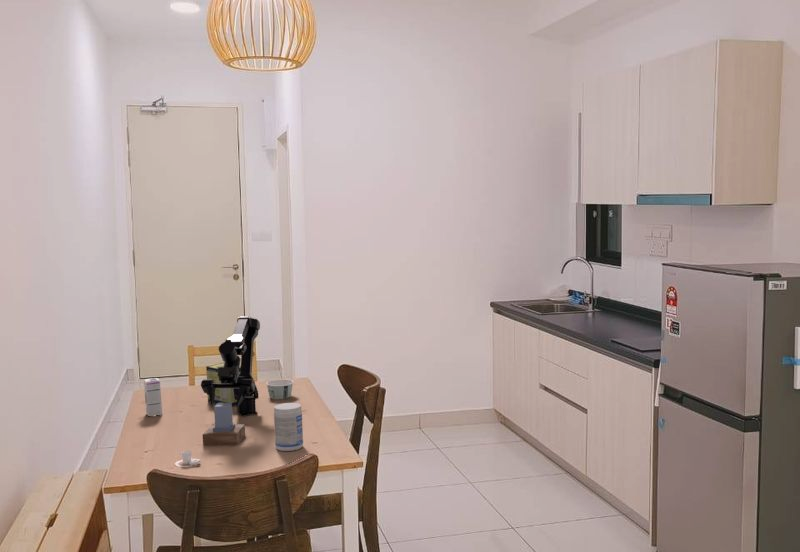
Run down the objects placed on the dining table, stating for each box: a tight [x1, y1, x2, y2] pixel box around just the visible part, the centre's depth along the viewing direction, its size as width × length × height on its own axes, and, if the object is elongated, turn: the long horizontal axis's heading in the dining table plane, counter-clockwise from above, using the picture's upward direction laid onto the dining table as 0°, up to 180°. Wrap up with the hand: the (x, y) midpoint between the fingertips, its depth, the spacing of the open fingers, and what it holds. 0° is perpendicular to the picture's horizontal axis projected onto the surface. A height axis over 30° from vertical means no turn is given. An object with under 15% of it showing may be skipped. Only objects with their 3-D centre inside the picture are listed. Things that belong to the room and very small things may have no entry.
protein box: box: [205, 362, 241, 407], centre depth 324 cm, size 10×16×16 cm
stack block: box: [202, 423, 246, 446], centre depth 270 cm, size 12×12×4 cm
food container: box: [265, 378, 294, 400], centre depth 330 cm, size 12×12×6 cm
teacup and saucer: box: [174, 450, 201, 468], centre depth 247 cm, size 9×8×4 cm
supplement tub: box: [273, 402, 304, 452], centre depth 260 cm, size 10×10×15 cm
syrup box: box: [143, 377, 163, 417], centre depth 305 cm, size 6×6×14 cm
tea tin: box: [213, 403, 236, 432], centre depth 270 cm, size 6×6×9 cm
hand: (224, 406), depth 271 cm, fingers open, 9 cm apart
